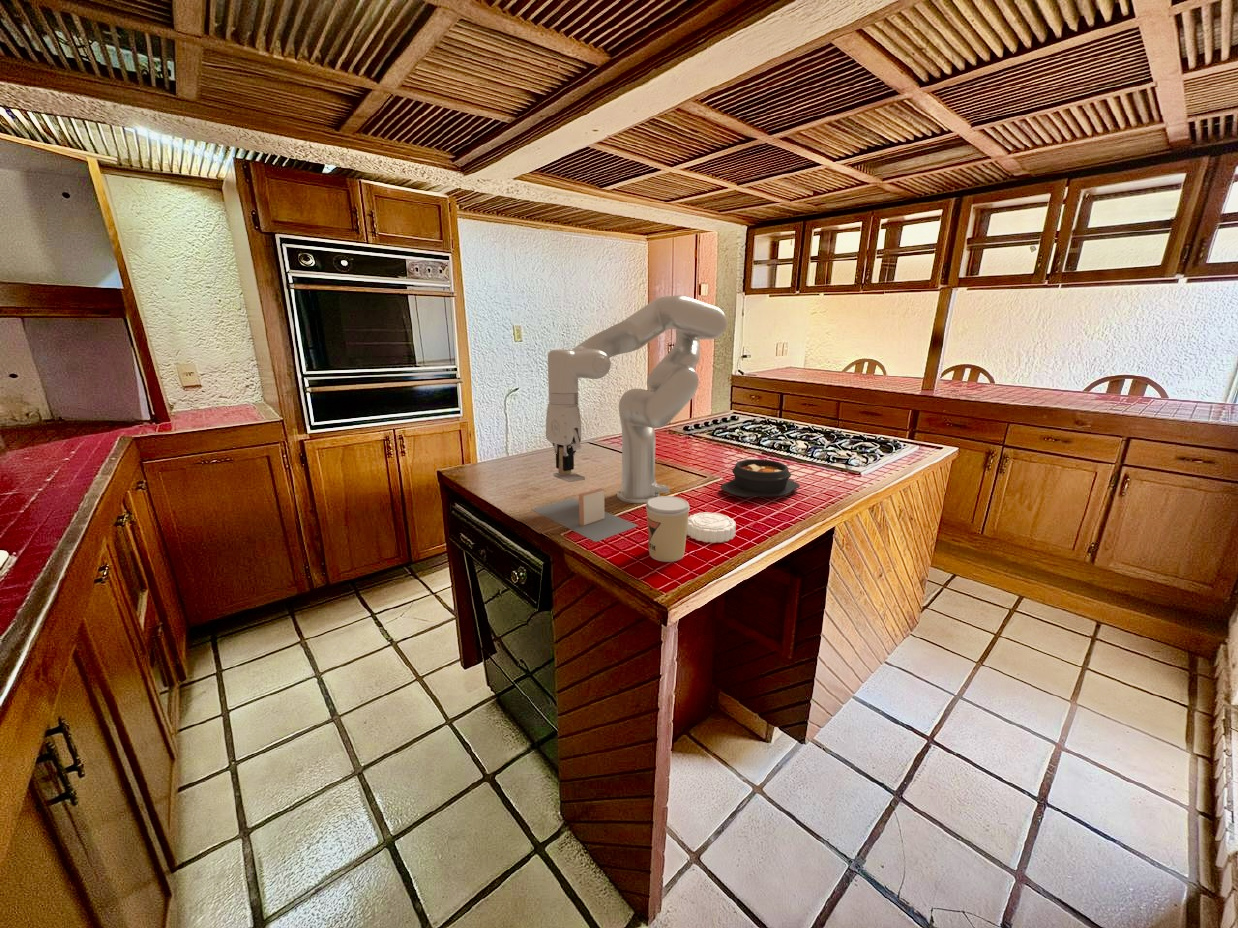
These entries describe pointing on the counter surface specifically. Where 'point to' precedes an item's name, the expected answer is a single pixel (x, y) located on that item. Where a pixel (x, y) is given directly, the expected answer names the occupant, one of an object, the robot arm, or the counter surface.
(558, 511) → the mat
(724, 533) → the mooncake
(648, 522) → the coffee cup
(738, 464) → the casserole
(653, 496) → the robot arm
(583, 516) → the tile
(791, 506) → the counter surface
